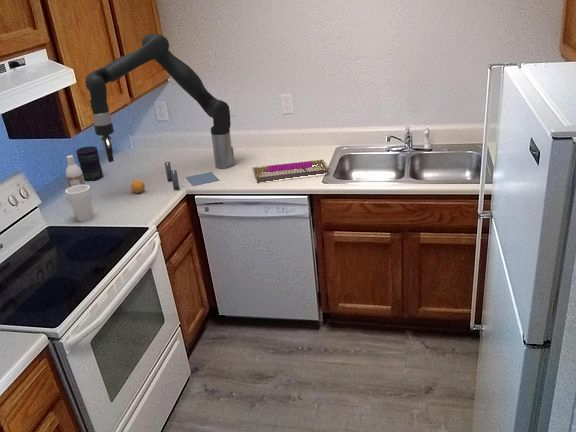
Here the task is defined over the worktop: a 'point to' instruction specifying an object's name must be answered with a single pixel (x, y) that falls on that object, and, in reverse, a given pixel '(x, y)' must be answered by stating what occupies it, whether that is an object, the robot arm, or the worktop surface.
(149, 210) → the worktop surface
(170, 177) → the post
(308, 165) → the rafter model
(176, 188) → the post
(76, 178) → the bath foam
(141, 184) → the ball
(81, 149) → the storage jar
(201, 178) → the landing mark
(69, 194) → the foam cup
